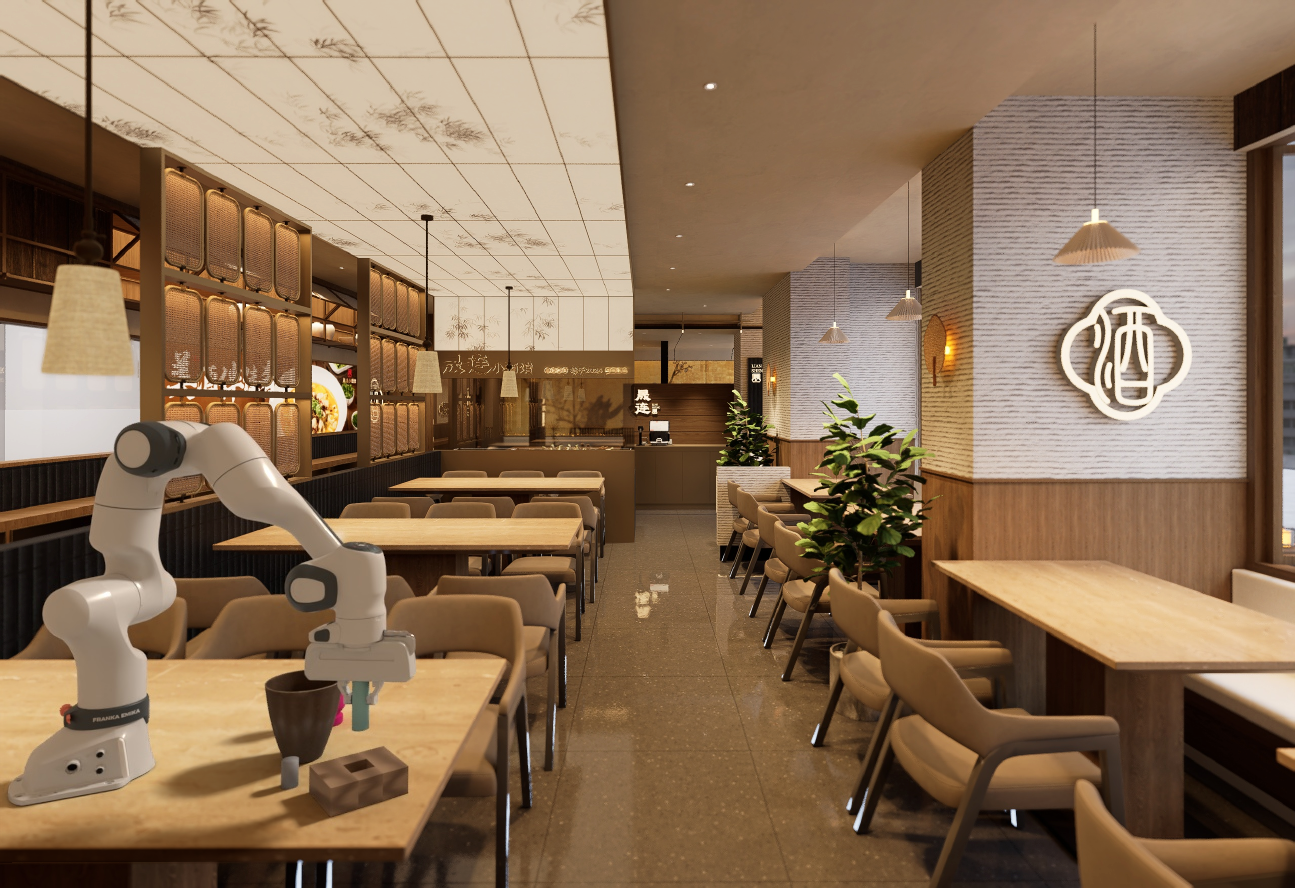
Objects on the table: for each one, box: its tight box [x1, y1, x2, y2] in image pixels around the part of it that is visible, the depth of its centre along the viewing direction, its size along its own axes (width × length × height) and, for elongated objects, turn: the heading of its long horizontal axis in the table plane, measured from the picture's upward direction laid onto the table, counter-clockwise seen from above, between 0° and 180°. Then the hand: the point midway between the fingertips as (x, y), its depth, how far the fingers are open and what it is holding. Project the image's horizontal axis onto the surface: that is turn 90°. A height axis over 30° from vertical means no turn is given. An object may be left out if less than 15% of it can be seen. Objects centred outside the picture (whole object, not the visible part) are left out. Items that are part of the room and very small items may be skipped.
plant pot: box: [264, 669, 341, 765], centre depth 152 cm, size 15×15×16 cm
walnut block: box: [308, 745, 409, 818], centre depth 137 cm, size 14×12×5 cm
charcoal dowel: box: [280, 756, 300, 791], centre depth 139 cm, size 3×3×5 cm
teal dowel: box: [351, 681, 370, 732], centre depth 137 cm, size 3×3×10 cm
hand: (360, 703), depth 137 cm, fingers closed on teal dowel, 3 cm apart
